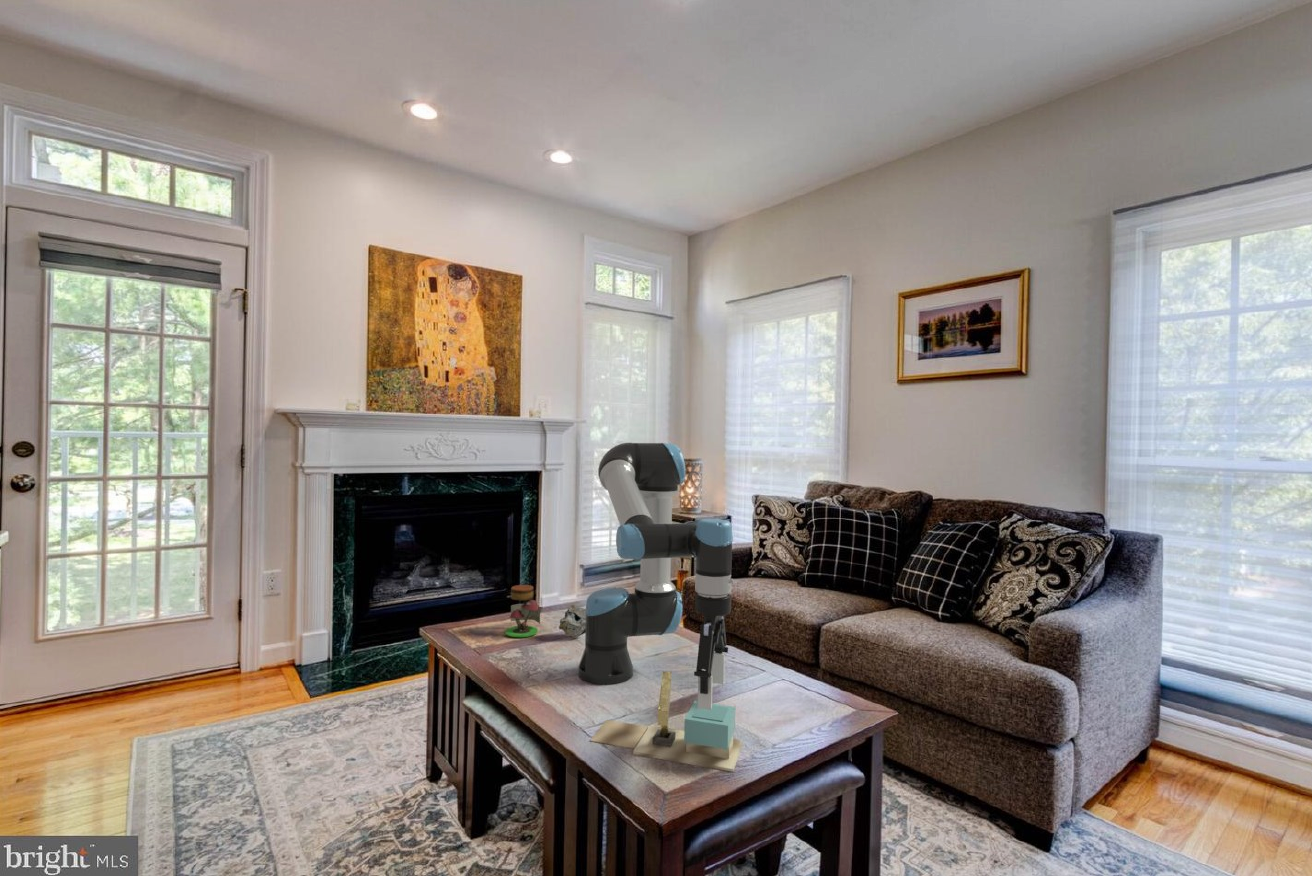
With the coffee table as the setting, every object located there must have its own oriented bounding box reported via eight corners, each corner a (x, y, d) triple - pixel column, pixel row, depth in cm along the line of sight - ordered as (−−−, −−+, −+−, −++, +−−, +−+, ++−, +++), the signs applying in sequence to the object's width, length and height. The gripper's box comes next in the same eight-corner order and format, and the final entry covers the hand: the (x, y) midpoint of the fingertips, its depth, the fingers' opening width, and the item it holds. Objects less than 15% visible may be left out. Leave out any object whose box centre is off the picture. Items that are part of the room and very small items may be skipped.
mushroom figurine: (538, 638, 196) (539, 592, 196) (499, 637, 196) (500, 591, 196) (545, 627, 208) (546, 583, 208) (508, 626, 208) (509, 582, 208)
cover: (684, 742, 125) (684, 717, 125) (694, 722, 133) (694, 699, 133) (727, 749, 122) (728, 724, 122) (734, 729, 131) (735, 706, 131)
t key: (666, 765, 121) (667, 710, 121) (656, 764, 121) (657, 710, 121) (670, 718, 141) (671, 671, 141) (661, 718, 141) (662, 671, 141)
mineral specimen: (570, 644, 191) (571, 612, 191) (555, 638, 197) (556, 607, 197) (594, 637, 198) (595, 607, 198) (579, 631, 204) (579, 601, 204)
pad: (590, 741, 131) (590, 740, 131) (606, 720, 141) (606, 719, 141) (633, 749, 128) (633, 748, 128) (647, 727, 138) (648, 726, 138)
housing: (633, 754, 126) (633, 737, 126) (650, 727, 138) (650, 712, 138) (733, 772, 120) (733, 754, 120) (742, 743, 132) (742, 727, 132)
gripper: (719, 610, 115) (718, 723, 114) (740, 582, 139) (738, 675, 138) (681, 606, 117) (679, 717, 117) (707, 579, 141) (706, 671, 140)
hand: (711, 695), depth 127 cm, fingers open, 13 cm apart
